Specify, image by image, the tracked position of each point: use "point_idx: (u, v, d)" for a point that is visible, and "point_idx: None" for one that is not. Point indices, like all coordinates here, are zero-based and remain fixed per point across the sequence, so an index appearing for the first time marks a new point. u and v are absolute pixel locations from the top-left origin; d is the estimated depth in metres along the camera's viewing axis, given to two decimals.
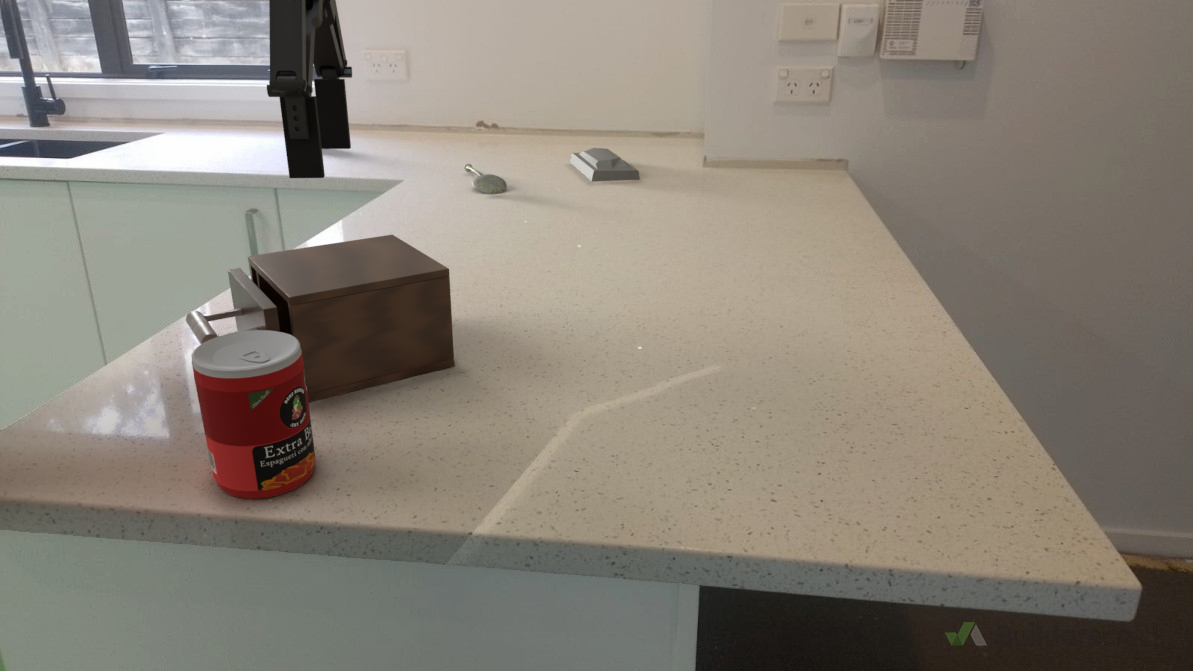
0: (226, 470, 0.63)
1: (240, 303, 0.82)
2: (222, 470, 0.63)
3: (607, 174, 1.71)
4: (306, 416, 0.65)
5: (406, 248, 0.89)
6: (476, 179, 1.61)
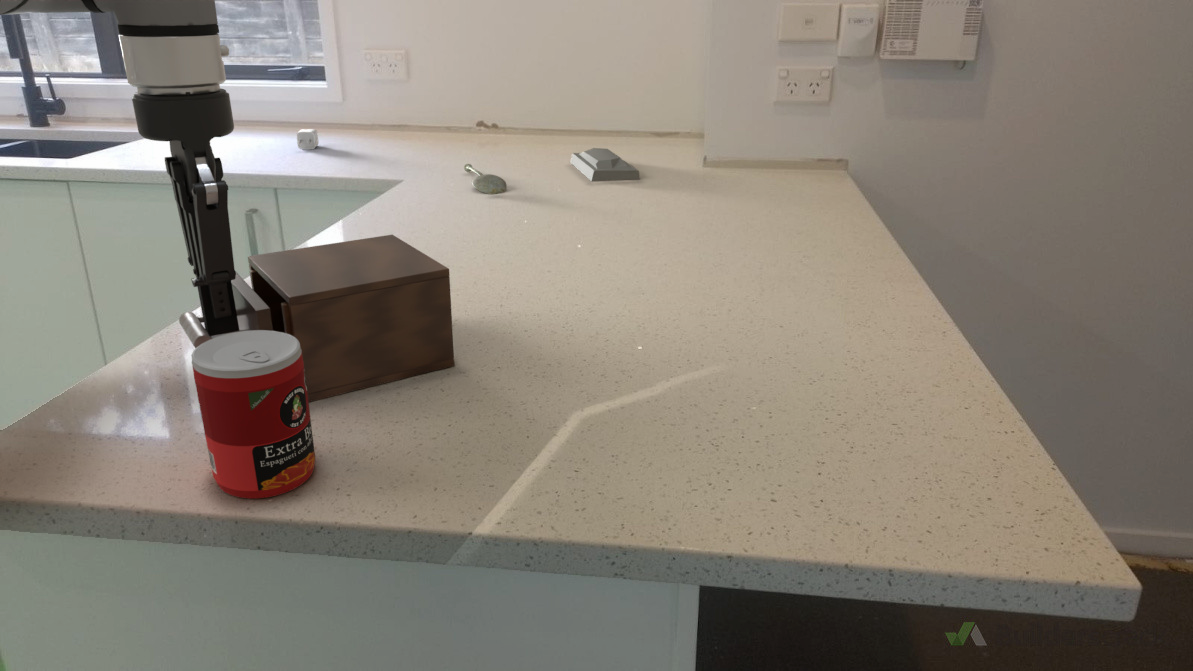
0: (226, 470, 0.63)
1: None
2: (222, 470, 0.63)
3: (607, 174, 1.71)
4: (306, 416, 0.65)
5: (406, 248, 0.89)
6: (476, 179, 1.61)
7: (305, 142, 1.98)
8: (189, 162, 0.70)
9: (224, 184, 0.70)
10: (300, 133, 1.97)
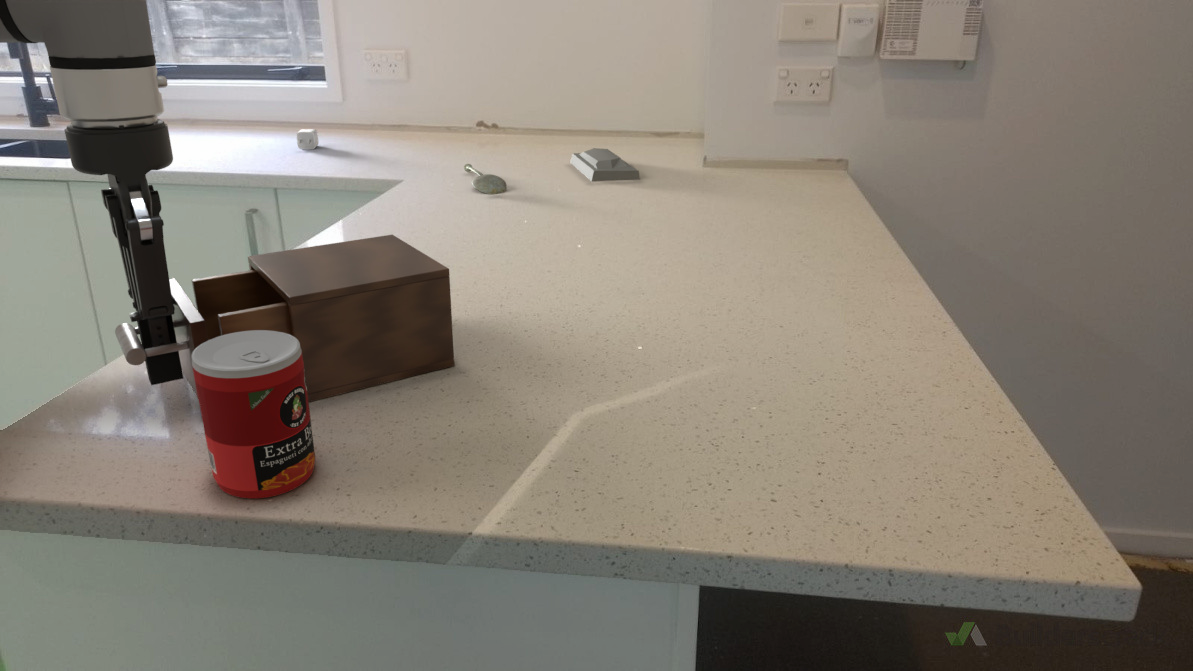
0: (226, 470, 0.63)
1: (173, 315, 0.79)
2: (222, 470, 0.63)
3: (607, 174, 1.71)
4: (306, 416, 0.65)
5: (406, 248, 0.89)
6: (476, 179, 1.61)
7: (305, 142, 1.98)
8: (123, 197, 0.68)
9: (159, 220, 0.68)
10: (300, 133, 1.97)
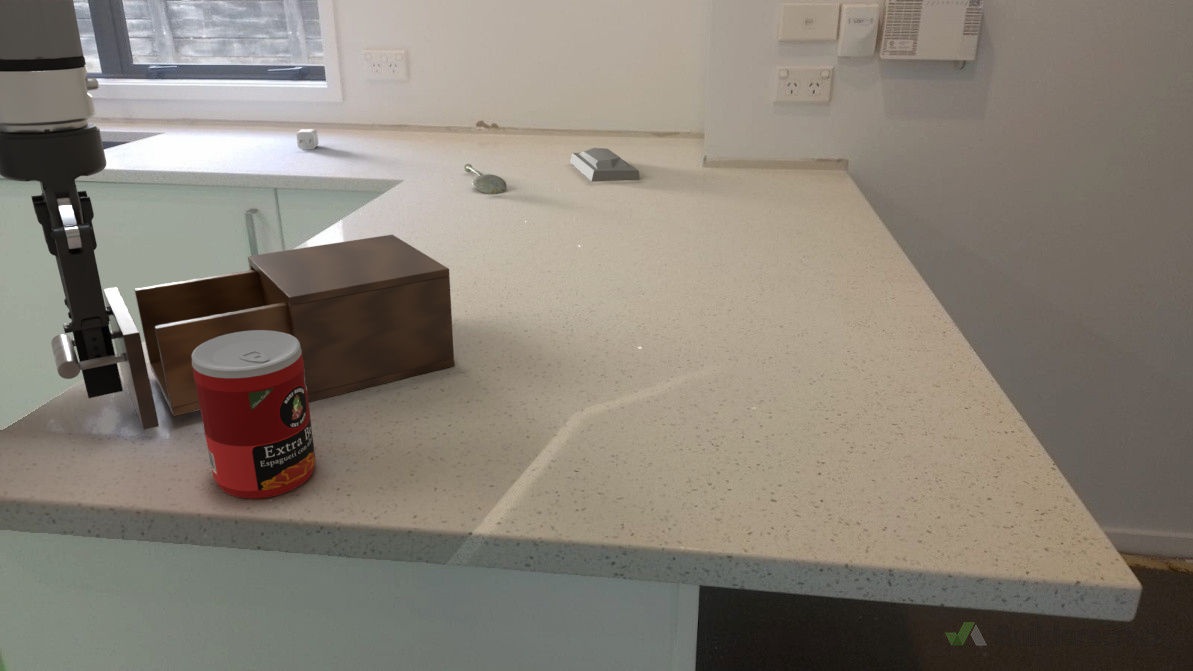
0: (226, 470, 0.63)
1: (113, 326, 0.77)
2: (222, 470, 0.63)
3: (607, 174, 1.71)
4: (306, 416, 0.65)
5: (406, 248, 0.89)
6: (476, 179, 1.61)
7: (305, 142, 1.98)
8: (50, 204, 0.65)
9: (87, 228, 0.65)
10: (300, 133, 1.97)
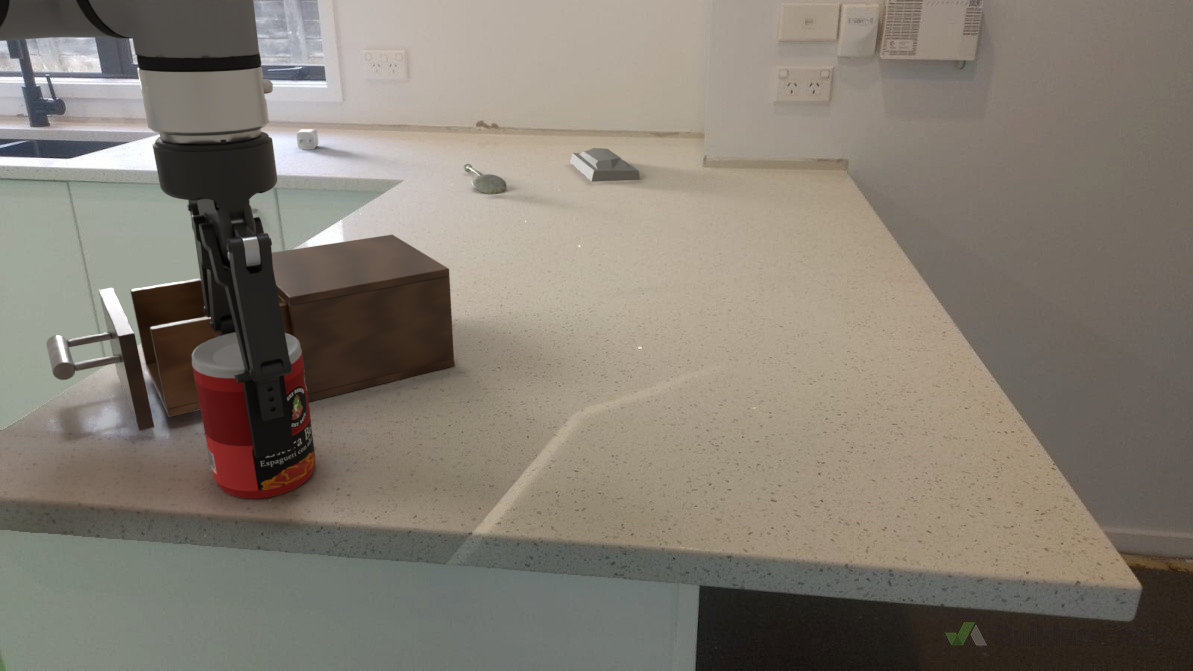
0: (226, 470, 0.63)
1: (108, 326, 0.76)
2: (222, 470, 0.63)
3: (607, 174, 1.71)
4: (306, 416, 0.65)
5: (406, 248, 0.89)
6: (476, 179, 1.61)
7: (305, 142, 1.98)
8: (222, 221, 0.56)
9: (266, 235, 0.55)
10: (300, 133, 1.97)
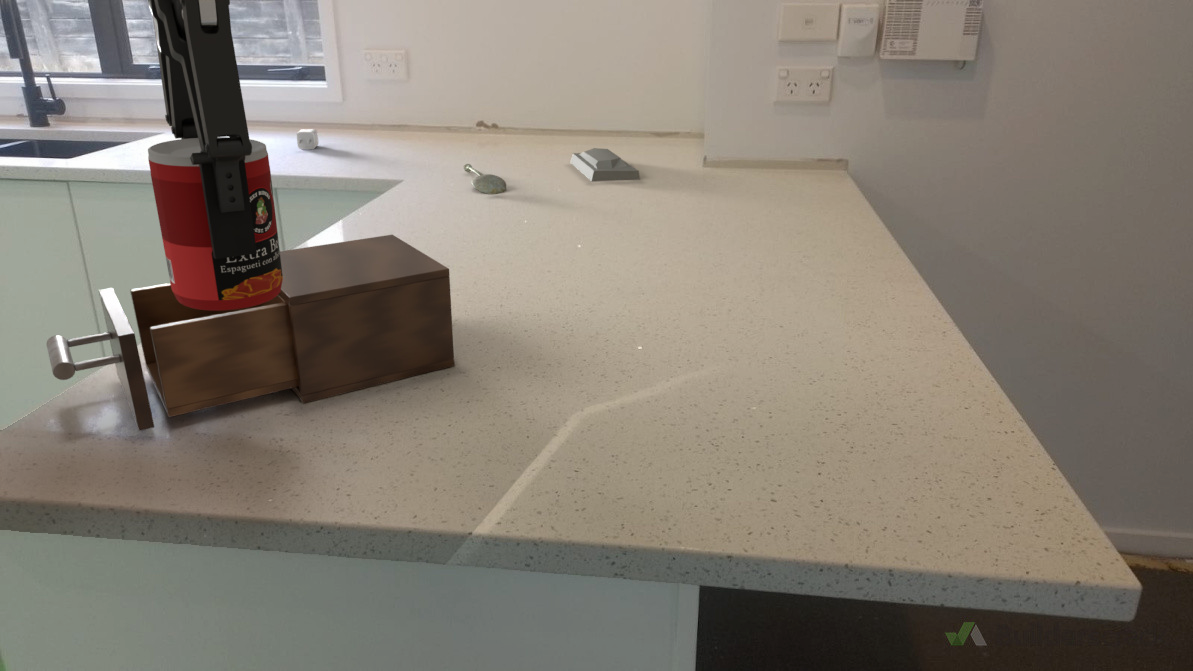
0: (185, 277, 0.59)
1: (108, 326, 0.76)
2: (180, 277, 0.59)
3: (607, 175, 1.71)
4: (273, 226, 0.61)
5: (406, 248, 0.89)
6: (476, 179, 1.61)
7: (305, 142, 1.98)
8: None
9: None
10: (300, 133, 1.97)
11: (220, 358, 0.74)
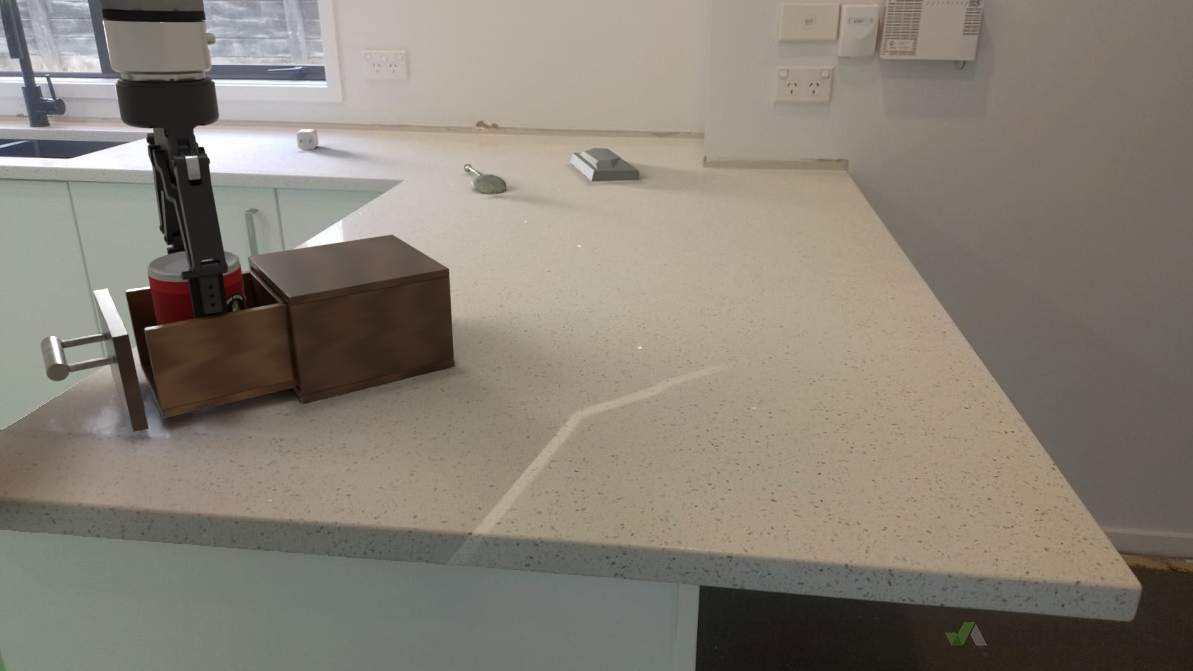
0: None
1: (103, 327, 0.76)
2: None
3: (607, 174, 1.71)
4: None
5: (406, 248, 0.89)
6: (476, 179, 1.61)
7: (305, 142, 1.98)
8: (170, 145, 0.68)
9: (205, 155, 0.68)
10: (300, 133, 1.97)
11: (215, 359, 0.74)
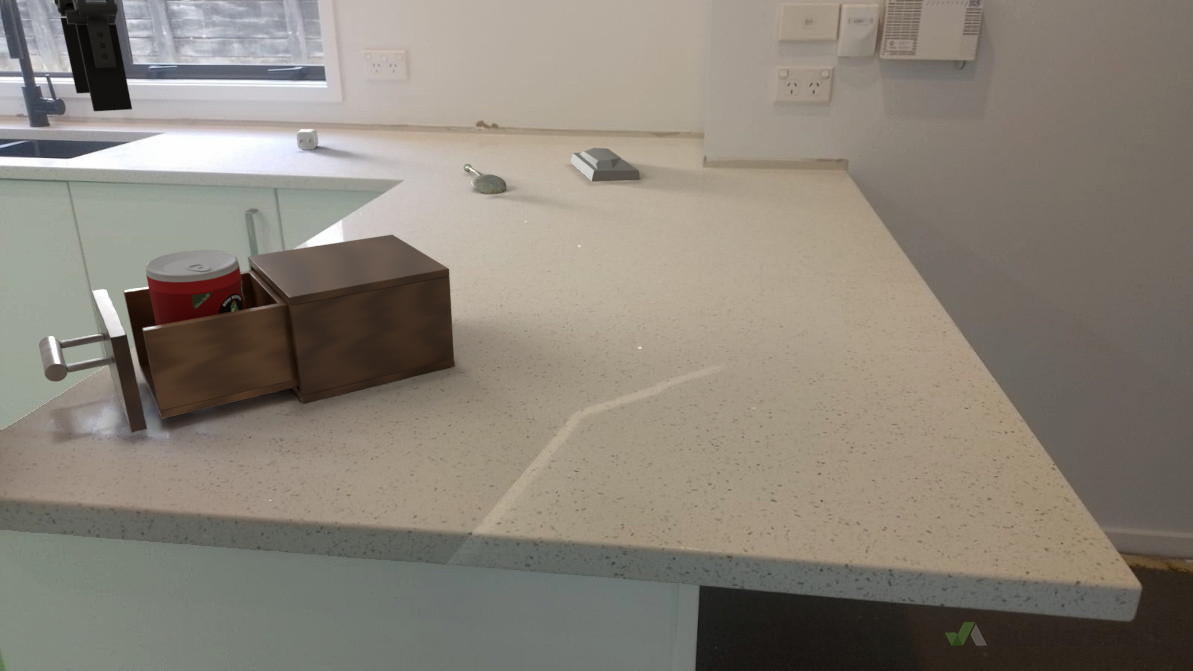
0: None
1: (101, 328, 0.76)
2: None
3: (607, 174, 1.71)
4: None
5: (406, 248, 0.89)
6: (476, 179, 1.61)
7: (305, 142, 1.98)
8: None
9: None
10: (300, 133, 1.97)
11: (213, 359, 0.74)
